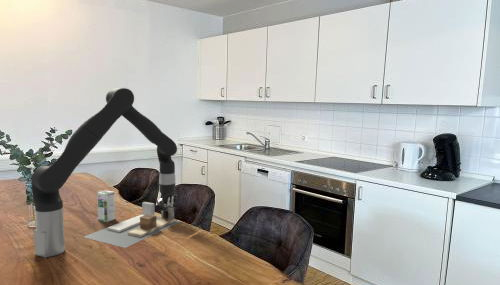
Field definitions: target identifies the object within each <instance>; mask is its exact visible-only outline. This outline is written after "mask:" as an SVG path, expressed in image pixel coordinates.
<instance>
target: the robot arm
mask: <svg viewBox="0 0 500 285" xmlns="http://www.w3.org/2000/svg"><path fill="white" fill-rule="evenodd" d="M105 102H106V104H105V105H104V107H102V109H100V110H99V111H98V112H96V113H95V114H94V115H92V116H91V117H89V118H88V119H86V120H85V121H84V122H83V123H82V124H81V125H80V126H79V127H78V128H77V129H76V130H75V131H74V132H73V133H72V134H71V136H70V137H69V140H68V141H67V143H66V145H65V147H64V150H63V151H62V153H61V155H60V156H59V157H58V158H57V159H56V160H55V161H54V162H53V163H52V164H51V165H42V166H39V167H37V168H36V169H35V170H34V171H33V173H32V175H31V191H32V192H31V195H32V201H33V204H34V208H35V209H34V210H35V211H34V212H35V229H34V231H33V237H34V238H33V239H34V240H33V241H34V255H35V256H38V257H42V258H45V259H46V258H49V257H55V256H57V255H60V254H61V255H62V253H64V252H65V251H66V247H65V246H66V245H65V226H64V222H65V221H64V202H63V201H64V200H62V197H61V194H60V189H61V188H62V187H63V186H64V185H65V183H67V181H68V179H69V177H70V176H71V175H72V173H74V171H75V170H76V168H77V167H78V166H79V164H80V163H82V161H84V159H85V158H86V157H87V156H88V154H89V153H90V152H92V151H93V149H94V148H95V147H96V146H97V144H99V142H100V141H101V140H102V139H103V137H104V136H105V135H106V134H107V132H109V130H110V129H111V128H112V127H113V125H114V124H115V123H116V122H117V120H118V119H120V118H121V117H123V118H124V119H125V120H127V121H128V122H129V123H130V124H131V125H133V127H135V129H137V130H138V131H139V132H140V133H141V134H142V135H143V136H144V137H145V138H146V140H148V141H149V142H150V143H151V144H154V145H155V146H157V147H156V154H157V158H158V162H159V178H158V182H159V184H158V185H159V186H158V187H159V188H158V189H159V190H158V191H159V193H160V198H159V200H156V204H157V206H158V209H159V210H160V211H161V210H162V211H163V217H164V218H165V219H167V218H168V206H171V207H174V208H175V207H176V204H177V200H178V198H179V195H178V194H175V192H176V191H177V190H176V172H175V171H176V170H175V169H176V166H175V162H174V160H173V158H172V156H175V154H177V151H178V146H177V144H176V142H175V141H174V140H173V139H171V137H169V136H168V135H166V134H165V133H164V132H162V130H161V129H160V128H159V127H158V126H157V124H156V123H155V122H153V121H152V119H151V120H150V118H148V117H146V116H145V115H144V114H143V113H141V112H140V111H138V109H136V108H135V107H134V106H133V104H134V103H135V94H134V93H133V91H132V90H131V89H130V88H126V87H119V88H118V87H117V88H112V89H110V90H109V91H108V92H107V93H106V95H105ZM165 206H166V208H165Z"/></svg>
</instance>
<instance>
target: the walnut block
mask: <svg viewBox="0 0 500 285" xmlns="http://www.w3.org/2000/svg"><path fill="white" fill-rule="evenodd" d="M155 215H156V214H155ZM155 215H150V214H147V215H144V216H142V217H140V228H142V229H147V230H150V229H152V228H154V227H156V217H157V215H156V216H155Z"/></svg>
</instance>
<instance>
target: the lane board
mask: <svg viewBox="0 0 500 285" xmlns="http://www.w3.org/2000/svg"><path fill="white" fill-rule="evenodd" d="M140 215H142V214H140ZM160 218H161V216H156V220H158V219H160ZM129 219H130V218H128V219H127V220H129ZM121 222H122V221H121ZM121 222H119V223H121ZM181 222H182V221H180V220H176V221H175V222H173V223H170V224H168V225H166V226H164V227H162V228H159V229H157V230H155V231H153V232H151V233H149V234H146V235H144V236H142V237H136V236H132V235H128V232H129V231H132V230H134V229H136V228H139V227H140V224H138V225H136V226H134V227H131V228H129V229H126V230H124V231H121V232H115V231H111V230H108V227H109V226H108V227H105V228H103V229H100V230H97V231H95V232H93V233H90V234H87V235H85V236H83V238H85V239H89V240H91V241H92V240H94V241H97V242H100V243H104V244H108V245H113V246H116V247H120V248H124V249H126V248H128V247H130V246H133V245H135V244H137V243H139V242H141V241H143V240H145V239H147V238H149V237H151V236H154V235H157V234H158V233H160V232H162V231H165V230H166V229H168V228H169V229H170V228H171V227H173V226H175V225H177V224H180V223H181Z"/></svg>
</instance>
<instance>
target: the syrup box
mask: <svg viewBox="0 0 500 285" xmlns="http://www.w3.org/2000/svg"><path fill="white" fill-rule="evenodd" d="M96 195H97V221H99V222H103V223H108V222H111V221H114V220H115V219H116V209H115V208H116V202H115V200H116V199H115V191H110V190H102V191H101V190H100V191H98V192H97V194H96Z"/></svg>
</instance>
